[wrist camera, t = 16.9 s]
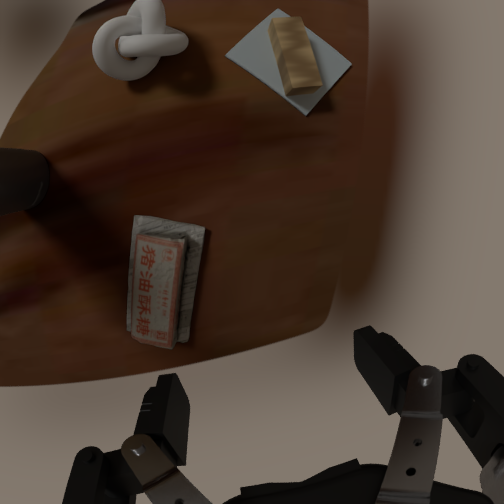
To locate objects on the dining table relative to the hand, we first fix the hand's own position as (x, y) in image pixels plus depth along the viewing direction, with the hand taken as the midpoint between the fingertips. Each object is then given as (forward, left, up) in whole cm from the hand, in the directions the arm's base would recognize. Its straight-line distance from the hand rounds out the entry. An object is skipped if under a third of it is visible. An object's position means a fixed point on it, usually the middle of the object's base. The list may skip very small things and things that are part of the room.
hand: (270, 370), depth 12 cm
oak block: (-6, +21, -26) cm, 34 cm away
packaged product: (-4, -11, -29) cm, 31 cm away
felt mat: (-10, +25, -28) cm, 39 cm away
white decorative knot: (-27, +13, -28) cm, 41 cm away
